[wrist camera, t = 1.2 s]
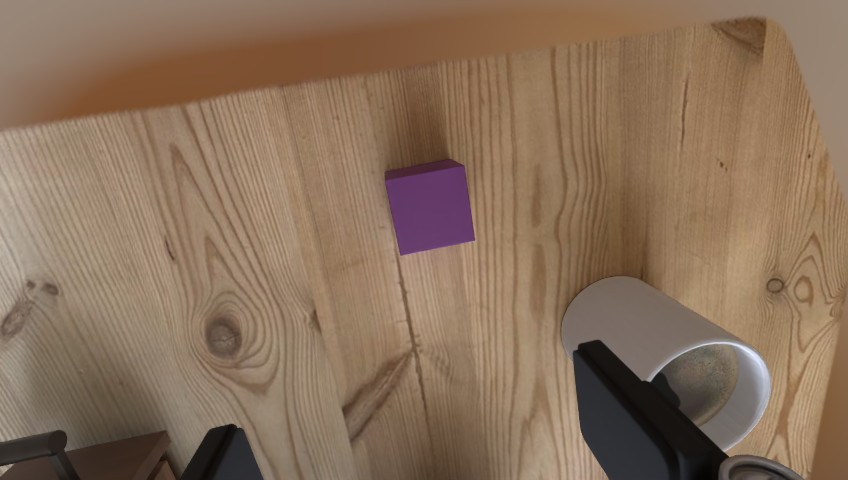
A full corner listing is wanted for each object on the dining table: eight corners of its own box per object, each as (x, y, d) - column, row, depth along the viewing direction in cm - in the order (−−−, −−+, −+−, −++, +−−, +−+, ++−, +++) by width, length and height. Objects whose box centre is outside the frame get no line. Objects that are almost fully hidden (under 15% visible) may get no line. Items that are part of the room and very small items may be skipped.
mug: (548, 297, 32) (620, 371, 22) (659, 256, 32) (777, 312, 22) (578, 402, 35) (651, 505, 25) (678, 364, 35) (789, 454, 25)
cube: (397, 235, 29) (400, 256, 25) (384, 171, 28) (384, 180, 23) (461, 223, 29) (475, 241, 25) (451, 158, 28) (464, 165, 23)
